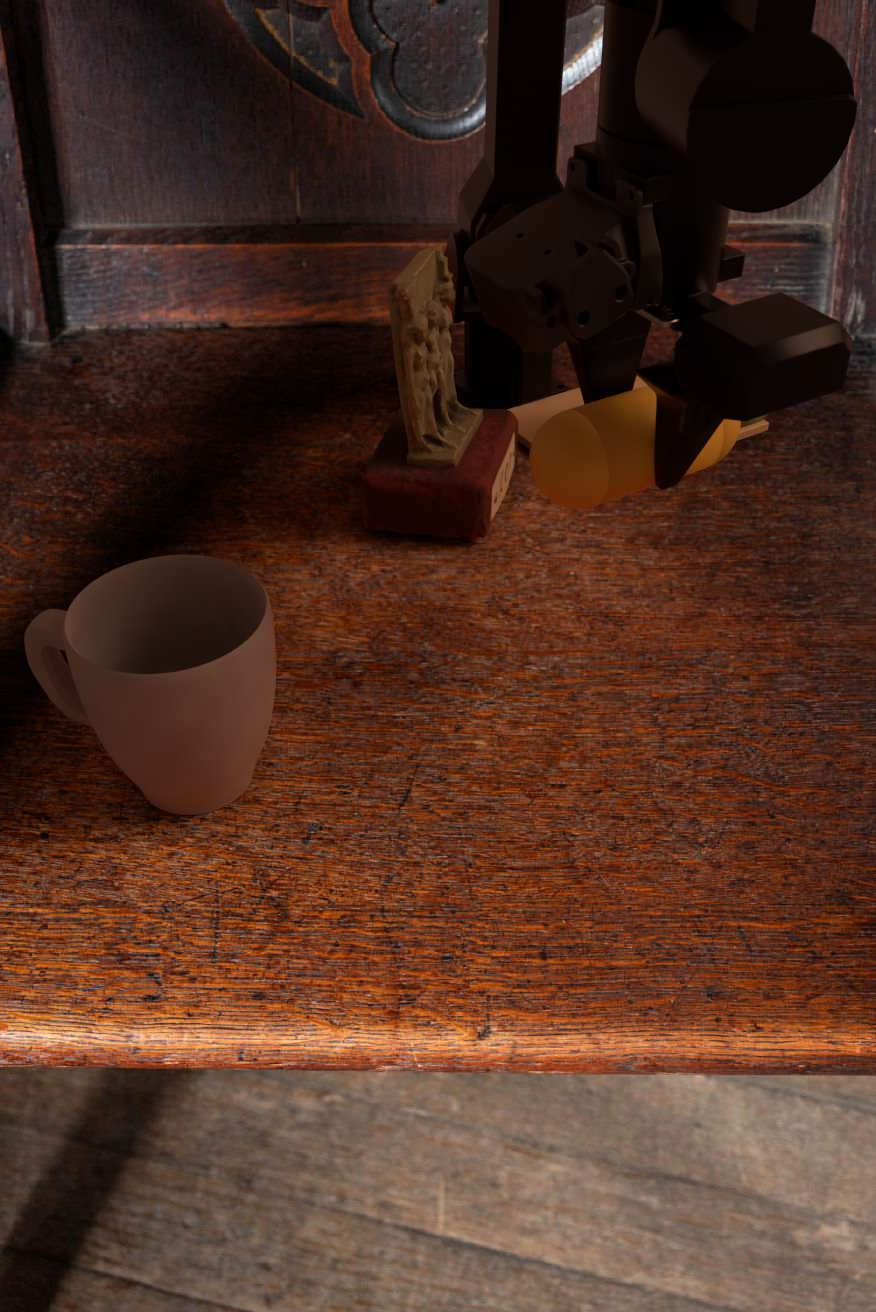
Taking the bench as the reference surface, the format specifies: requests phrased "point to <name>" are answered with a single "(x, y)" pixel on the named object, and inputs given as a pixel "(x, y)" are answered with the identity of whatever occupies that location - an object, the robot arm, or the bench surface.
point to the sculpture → (434, 424)
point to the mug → (167, 674)
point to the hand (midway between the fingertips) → (634, 463)
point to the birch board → (544, 409)
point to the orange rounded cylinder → (610, 449)
